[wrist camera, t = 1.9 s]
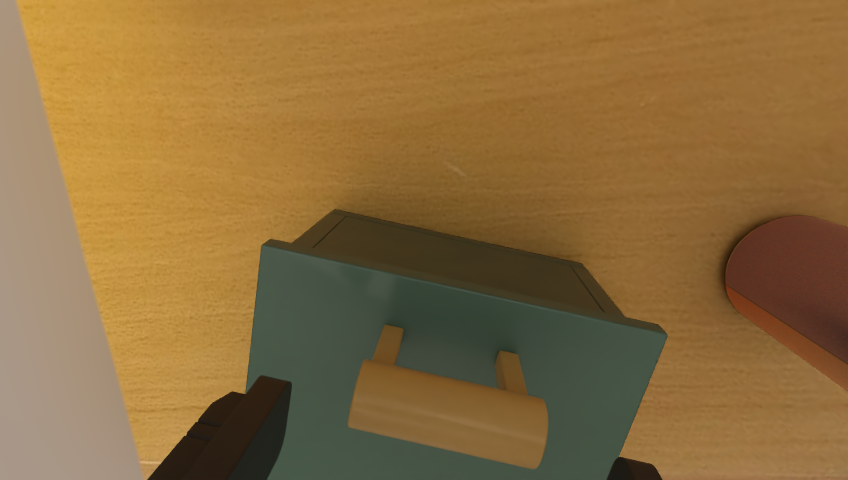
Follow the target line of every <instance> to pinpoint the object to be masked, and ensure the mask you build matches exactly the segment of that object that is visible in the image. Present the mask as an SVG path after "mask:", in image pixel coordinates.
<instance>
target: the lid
mask: <svg viewBox="0 0 848 480" xmlns="http://www.w3.org/2000/svg"><path fill="white" fill-rule="evenodd" d="M667 337H668V335H667V333H666V332H665V331H664V330H663V329H662V328H661V327H660V326H659V325H658V324H654V323H649V322H645V321H640V320H636V319H631V318H627V317H622V316H618V315H613V314H609V313H604V312H600V311H595V310H591V309H586V308H581V307H577V306H572V305H568V304H563V303H559V302H554V301H550V300H545V299H541V298H536V297H532V296H527V295H523V294H518V293H514V292H509V291H505V290H500V289H496V288H491V287H487V286H482V285H478V284H473V283H469V282H464V281H459V280H455V279H450V278H446V277H441V276H437V275H432V274H428V273H423V272H419V271H414V270H410V269H405V268H401V267H396V266H392V265H387V264H383V263H378V262H374V261H369V260H365V259H360V258H356V257H351V256H347V255H342V254H337V253H333V252H328V251H324V250H319V249H315V248H310V247H306V246H301V245H297V244H292V243H288V242H283V241H279V240H274V239H269V240H268V241H267V242H265V243H264V244H262V246H261V254H260V264H259V273H258V282H257V291H256V301H255V310H254V319H253V329H252V338H251V347H250V356H249V366H248V375H247V384H246V393H247V392H248V390H249V389H250V388H251V386H252V385H253V384H254V382H255V381H256V380H257V378H258V377H259V376H261V375H264V376H268V377H273V378H277V379H281V380H286V381H290V382H291V383H292V391H291V398H290V405H289V412H288V419H287V426H286V433H285V438H284V442H283V445H282V448H281V451H280V454H279V457H278V459H277V461H276V463H275V465H274V467H273V469H272V471H271V473H270V475H269V477H268V478H267V480H607V477H608V475H609V472H610V470H611V467H612V465H613V463H614V461H615V460H616V459H617V458H618V457H619V455H620V452H621V450H622V447H623V445H624V442H625V440H626V437H627V435H628V433H629V430H630V428H631V425H632V423H633V420H634V418H635V415H636V413H637V410H638V408H639V405H640V403H641V401H642V398H643V396H644V393H645V391H646V388H647V386H648V383H649V381H650V378H651V376H652V373H653V371H654V369H655V366H656V364H657V361H658V359H659V356H660V354H661V351H662V349H663V346H664V344H665V341H666V339H667Z"/></svg>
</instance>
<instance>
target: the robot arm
mask: <svg viewBox="0 0 848 480" xmlns="http://www.w3.org/2000/svg"><path fill="white" fill-rule="evenodd" d="M291 391H292V383H291V382H290V381H286V380H281V379H277V378H273V377H268V376H264V375H261V376H259V377H258V378H257V380H256V381H255V382H254V384H253V385H252V386H251V388H250V389H249V390H248V392H247V393H246V394H242V393H237V392H233V391H232V392H230V393H229V394H227V395H225V396H223V397H222V398H220V399H218V400H217V401H215V402H213V403H212V404H211V405H210V406H209V407H208V409H207V410H206V411H205V412H204V413H203V414H202V416H201V417H200V418H199V420H198V422H196V423H195V424H194V425H193V426H192V427H191V429H190V430H189V431H188V432H187V435H186V436H184V437H183V438H182V439H181V441H180V442H179V443H178V444H177V445H176V446H175V448H174V449H173V450H172V451H171V452H170V454H169V455H168V456H167V457H166V458H165V459H164V461H163V462H162V463H161V464H160V465H159V467H158V468H157V469H156V470H155V471H154V472H153V474H152V475H151V476H150V477H149V478H148V480H267V478H268V477H269V475H270V473H271V471H272V469H273V467H274V465H275V463H276V461H277V459H278V457H279V454H280V451H281V448H282V445H283V442H284V438H285V433H286V426H287V419H288V412H289V405H290V398H291ZM607 480H662V478H661V476H660V475H659V473H658V471H657V469H656V468H655V467H654V466H653V465H652V464H649V463H645V462H640V461H636V460H631V459H627V458H623V457H618V458H617V459H616V460H615V461H614V463H613V465H612V467H611V470H610V472H609V475H608V477H607Z"/></svg>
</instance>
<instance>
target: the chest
mask: <svg viewBox="0 0 848 480" xmlns="http://www.w3.org/2000/svg"><path fill="white" fill-rule="evenodd" d="M292 244H297V245H301V246H306V247H310V248H315V249H319V250H324V251H328V252H333V253H337V254H342V255H347V256H351V257H356V258H360V259H365V260H369V261H374V262H378V263H383V264H387V265H392V266H396V267H401V268H405V269H410V270H414V271H419V272H423V273H428V274H432V275H437V276H441V277H446V278H450V279H455V280H459V281H464V282H469V283H473V284H478V285H482V286H487V287H491V288H496V289H500V290H505V291H509V292H514V293H518V294H523V295H527V296H532V297H536V298H541V299H545V300H550V301H554V302H559V303H563V304H568V305H572V306H577V307H581V308H586V309H591V310H595V311H600V312H604V313H609V314H613V315H618V316H622V317H625V316H624V315H623V313H622V312H621V311H620V310H619V309H618V307H617V306H616V305H615V304H614V302H613V301H612V300H611V299H610V297H609V296H608V295H607V294H606V292H605V291H604V290H603V289H602V287H601V286H600V285H599V284H598V282H597V281H596V280H595V279H594V278H593V276H592V275H591V274H590V273H589V271H588V270H587V269H586V268H585V267H584V265H583V264H581V263H576V262H572V261H567V260H563V259H558V258H554V257H549V256H545V255H540V254H535V253H531V252H526V251H522V250H517V249H513V248H508V247H504V246H499V245H495V244H490V243H485V242H481V241H476V240H472V239H467V238H463V237H458V236H454V235H449V234H445V233H440V232H435V231H431V230H426V229H422V228H417V227H413V226H408V225H404V224H399V223H395V222H390V221H385V220H381V219H376V218H372V217H367V216H363V215H358V214H354V213H349V212H345V211H340V210H336V209H335V210H333V211H332V212H330V213H329V214H328V215H326V216H325V217H324V218H323V219H321V220H320V221H319V222H317V223H316V224H315V225H314V226H312V227H311V228H310V229H309V230H307V231H306V232H305V233H304V234H302V235H301V236H300V237H299V238H297V239H296V240H295V241H294V242H292Z"/></svg>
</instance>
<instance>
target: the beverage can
mask: <svg viewBox="0 0 848 480" xmlns="http://www.w3.org/2000/svg"><path fill="white" fill-rule="evenodd" d="M725 284H726V290H727V294H728V297H729V299H730V301H731V303H732V304H733V306H734V307H735V308H736V310H737V311H738V312H739V313H741V314H742V315H743V316H745V317H746V318H747V319H749V320H750V321H751V322H753V323H754V324H756V325H757V326H758V327H760V328H761V329H762V330H764V331H765V332H767V333H768V334H769V335H771V336H772V337H773V338H775V339H776V340H778V341H779V342H780V343H782V344H783V345H785V346H786V347H787V348H789V349H790V350H791V351H793V352H794V353H796V354H797V355H798V356H800V357H801V358H802V359H804V360H805V361H807V362H808V363H809V364H811V365H812V366H814V367H815V368H816V369H818V370H819V371H820V372H822V373H823V374H825V375H826V376H827V377H829V378H830V379H831V380H833V381H834V382H836V383H837V384H838V385H840V386H841V387H843V388H844V389H845V390H847V391H848V227H846V226H843V225H839V224H836V223H833V222H830V221H826V220H823V219H820V218H816V217H812V216H788V217H783V218H779V219H776V220H773V221H770V222H768V223H766V224H764V225H761V226H760V227H758V228H756V229H754V230H753V231H751V232H750V233H749V234H747V235H746V236H745V237H744V238H743V239H742V240H741V241H740V242H739V243H738V244H737V246H736V247H735V248H734V250H733V252H732V253H731V255H730V258H729V260H728V263H727V267H726V273H725Z"/></svg>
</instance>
